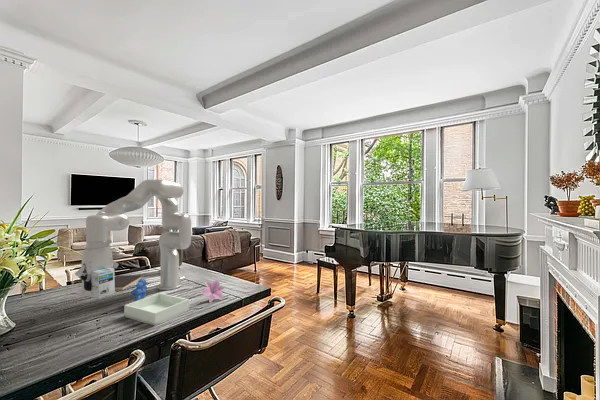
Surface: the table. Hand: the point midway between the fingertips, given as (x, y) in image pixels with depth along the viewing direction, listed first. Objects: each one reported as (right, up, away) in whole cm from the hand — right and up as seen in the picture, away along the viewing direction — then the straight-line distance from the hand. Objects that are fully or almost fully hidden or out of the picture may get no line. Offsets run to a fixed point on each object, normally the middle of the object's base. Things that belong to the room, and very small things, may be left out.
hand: (98, 287), depth 113 cm
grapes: (+7, -14, +17) cm, 23 cm away
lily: (+40, -15, +25) cm, 49 cm away
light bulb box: (0, -3, 0) cm, 3 cm away
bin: (+21, -14, +7) cm, 26 cm away
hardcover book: (-23, -14, +48) cm, 55 cm away
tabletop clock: (-5, -14, +75) cm, 77 cm away
